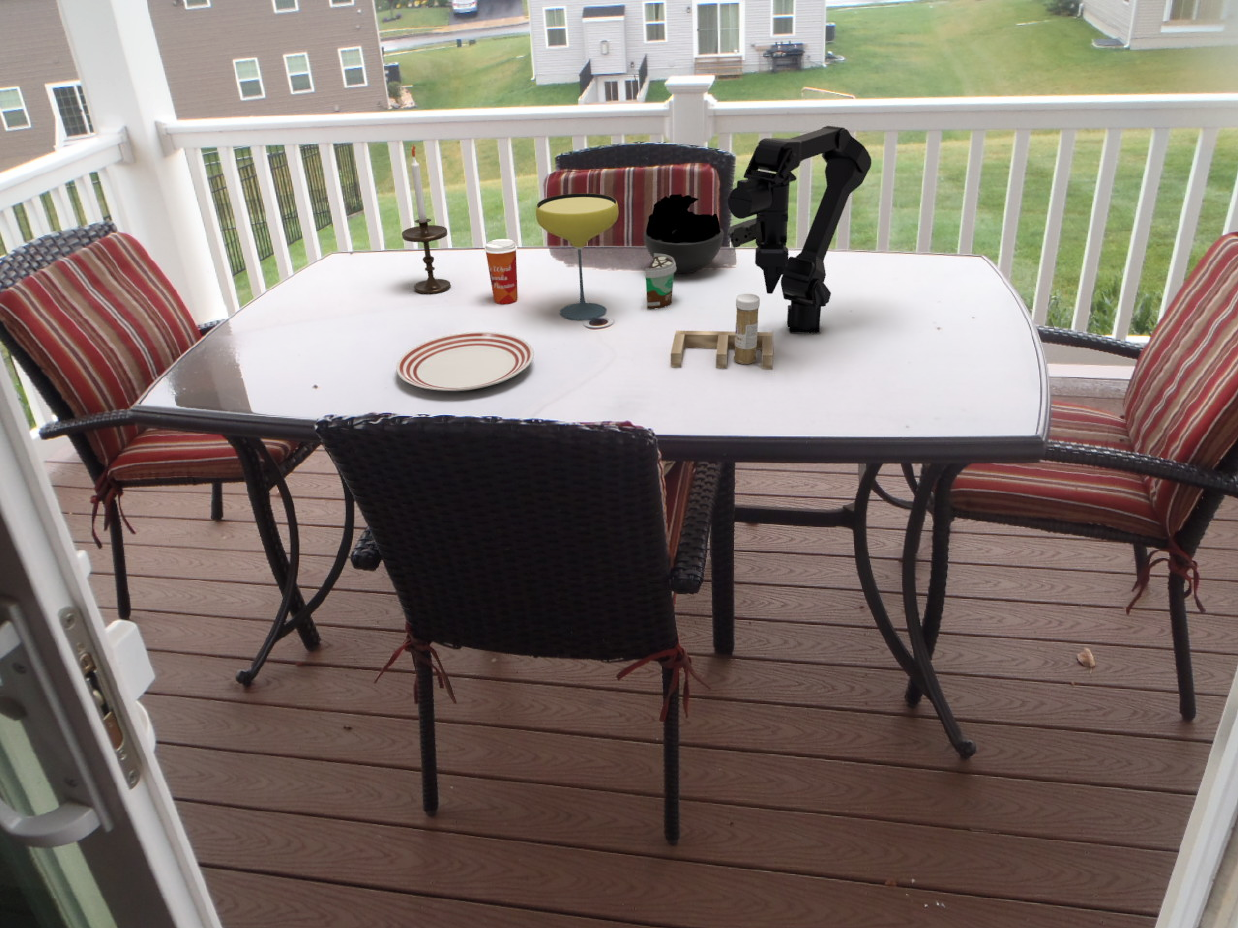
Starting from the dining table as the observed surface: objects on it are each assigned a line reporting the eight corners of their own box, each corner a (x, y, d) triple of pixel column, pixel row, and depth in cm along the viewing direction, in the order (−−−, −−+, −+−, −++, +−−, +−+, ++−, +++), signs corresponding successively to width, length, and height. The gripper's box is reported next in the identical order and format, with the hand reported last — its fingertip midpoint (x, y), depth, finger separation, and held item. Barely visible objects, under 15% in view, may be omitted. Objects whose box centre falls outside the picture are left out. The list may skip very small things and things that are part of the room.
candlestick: (461, 289, 231) (443, 143, 213) (421, 298, 226) (399, 150, 208) (443, 278, 239) (423, 137, 221) (403, 287, 234) (381, 143, 216)
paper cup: (484, 304, 221) (477, 246, 214) (499, 293, 227) (493, 237, 220) (513, 307, 218) (507, 249, 211) (528, 296, 224) (522, 239, 217)
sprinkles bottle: (729, 357, 188) (732, 294, 181) (750, 354, 189) (753, 291, 182) (739, 366, 184) (742, 302, 177) (760, 362, 185) (764, 299, 178)
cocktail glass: (548, 299, 222) (539, 194, 210) (623, 297, 221) (619, 191, 209) (540, 327, 206) (530, 215, 194) (621, 325, 206) (616, 213, 193)
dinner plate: (476, 413, 171) (474, 397, 169) (369, 384, 184) (366, 368, 182) (561, 360, 191) (560, 345, 189) (459, 337, 204) (458, 323, 202)
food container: (672, 312, 212) (672, 270, 207) (646, 311, 213) (645, 269, 208) (680, 294, 222) (680, 253, 217) (655, 293, 223) (654, 252, 218)
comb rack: (771, 345, 192) (772, 332, 191) (772, 369, 182) (772, 355, 181) (675, 343, 195) (675, 330, 194) (670, 367, 185) (670, 353, 183)
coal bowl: (682, 254, 249) (682, 183, 239) (739, 270, 236) (741, 195, 226) (628, 272, 237) (626, 198, 228) (684, 289, 224) (684, 212, 215)
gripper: (732, 196, 187) (730, 270, 195) (729, 221, 171) (727, 301, 179) (788, 195, 186) (784, 271, 194) (790, 221, 170) (786, 302, 178)
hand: (769, 285), depth 186 cm, fingers open, 9 cm apart
